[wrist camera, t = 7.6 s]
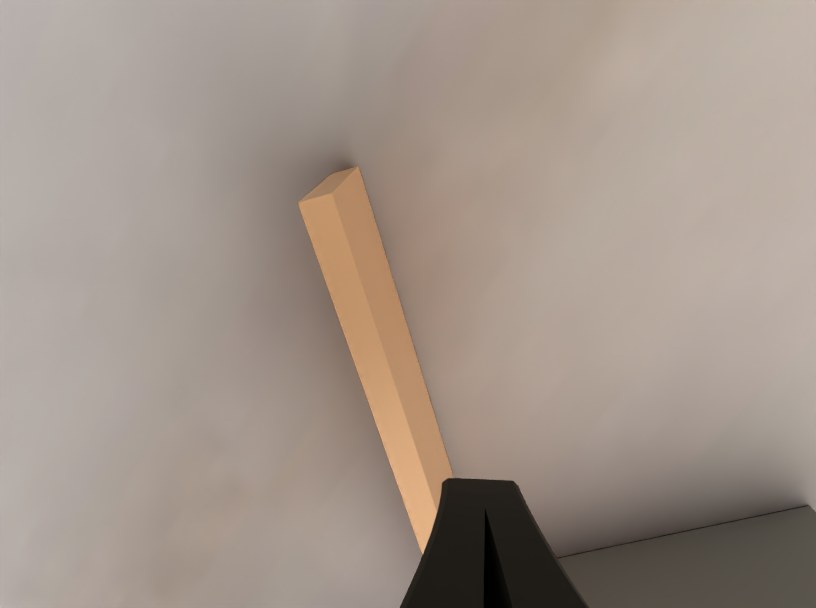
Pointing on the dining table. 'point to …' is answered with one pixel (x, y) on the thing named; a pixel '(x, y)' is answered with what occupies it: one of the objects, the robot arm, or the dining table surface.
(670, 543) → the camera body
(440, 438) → the long wooden block
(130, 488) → the dining table surface
